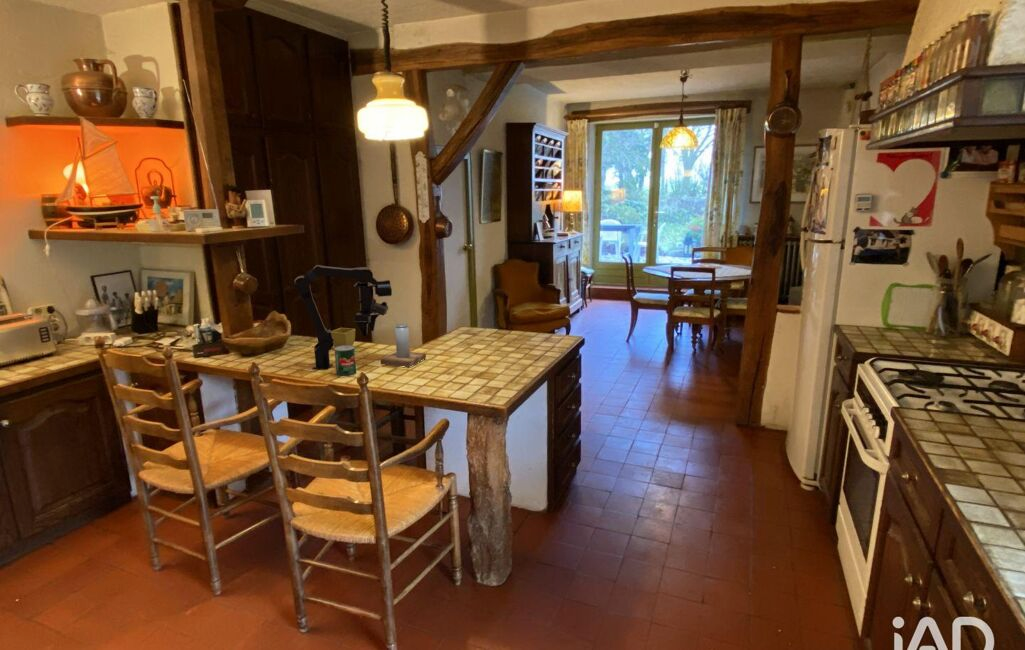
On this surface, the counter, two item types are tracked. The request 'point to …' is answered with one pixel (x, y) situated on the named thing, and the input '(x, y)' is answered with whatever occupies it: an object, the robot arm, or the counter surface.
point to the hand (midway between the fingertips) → (369, 333)
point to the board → (403, 359)
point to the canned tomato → (345, 360)
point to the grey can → (402, 341)
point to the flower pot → (343, 336)
